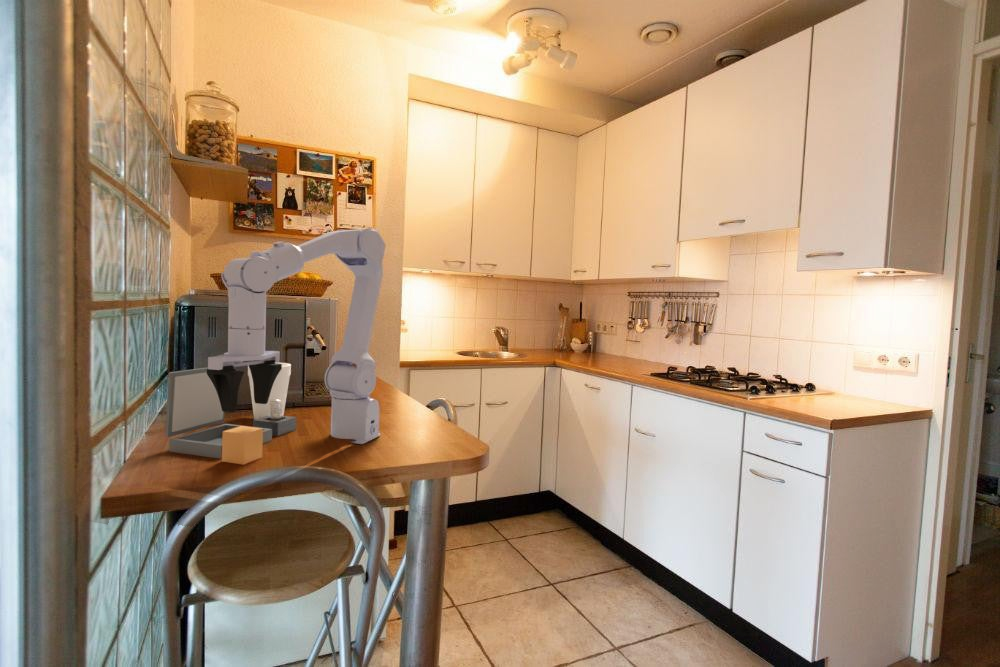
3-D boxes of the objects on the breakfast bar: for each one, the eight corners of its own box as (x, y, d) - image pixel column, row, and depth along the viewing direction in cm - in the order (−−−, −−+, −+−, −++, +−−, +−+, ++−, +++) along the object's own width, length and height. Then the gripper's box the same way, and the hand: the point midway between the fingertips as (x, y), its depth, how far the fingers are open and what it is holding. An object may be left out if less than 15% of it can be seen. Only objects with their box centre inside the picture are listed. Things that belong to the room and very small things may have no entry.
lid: (228, 365, 101) (225, 365, 101) (172, 373, 89) (168, 372, 89) (225, 422, 102) (221, 421, 102) (168, 437, 89) (165, 436, 89)
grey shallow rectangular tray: (271, 444, 99) (272, 429, 99) (220, 462, 87) (221, 445, 87) (225, 438, 102) (225, 423, 102) (169, 455, 89) (169, 439, 89)
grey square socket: (296, 433, 108) (296, 417, 108) (277, 439, 103) (278, 422, 102) (272, 430, 110) (272, 414, 110) (252, 436, 104) (252, 420, 104)
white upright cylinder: (283, 432, 107) (284, 399, 106) (274, 434, 105) (275, 401, 104) (275, 430, 108) (276, 398, 107) (266, 433, 106) (267, 400, 105)
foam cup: (240, 417, 120) (241, 363, 119) (278, 412, 127) (279, 361, 126) (258, 425, 114) (259, 368, 113) (297, 419, 121) (298, 365, 120)
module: (262, 461, 89) (262, 428, 88) (243, 469, 84) (244, 434, 84) (241, 459, 90) (241, 425, 89) (221, 466, 85) (222, 431, 85)
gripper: (257, 326, 94) (255, 398, 94) (192, 328, 80) (191, 413, 80) (290, 328, 92) (288, 401, 93) (229, 330, 78) (228, 417, 79)
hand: (245, 407), depth 86 cm, fingers open, 7 cm apart
